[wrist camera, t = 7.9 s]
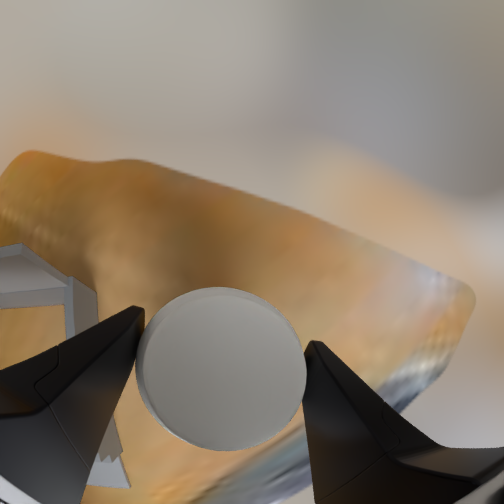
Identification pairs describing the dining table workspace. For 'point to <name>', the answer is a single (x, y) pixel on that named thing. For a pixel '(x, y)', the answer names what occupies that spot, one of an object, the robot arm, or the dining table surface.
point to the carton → (76, 321)
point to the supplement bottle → (221, 369)
